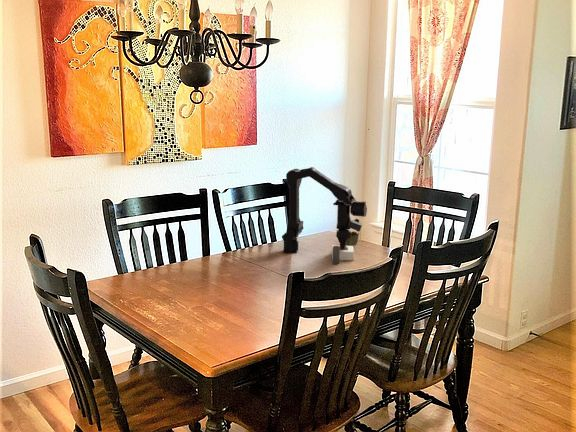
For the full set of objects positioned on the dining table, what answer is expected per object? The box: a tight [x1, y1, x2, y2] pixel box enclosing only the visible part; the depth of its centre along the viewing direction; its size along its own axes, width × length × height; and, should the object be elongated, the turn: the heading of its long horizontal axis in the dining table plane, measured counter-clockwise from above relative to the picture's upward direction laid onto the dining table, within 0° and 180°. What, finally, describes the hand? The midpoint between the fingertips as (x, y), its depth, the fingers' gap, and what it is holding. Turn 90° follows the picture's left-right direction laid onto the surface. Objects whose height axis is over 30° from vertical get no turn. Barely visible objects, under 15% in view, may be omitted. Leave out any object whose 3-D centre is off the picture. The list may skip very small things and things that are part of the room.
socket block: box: [331, 244, 355, 261], centre depth 275 cm, size 10×10×4 cm
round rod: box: [332, 245, 340, 266], centre depth 264 cm, size 3×3×8 cm
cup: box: [346, 230, 360, 249], centre depth 288 cm, size 8×7×8 cm
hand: (342, 247), depth 274 cm, fingers open, 3 cm apart
